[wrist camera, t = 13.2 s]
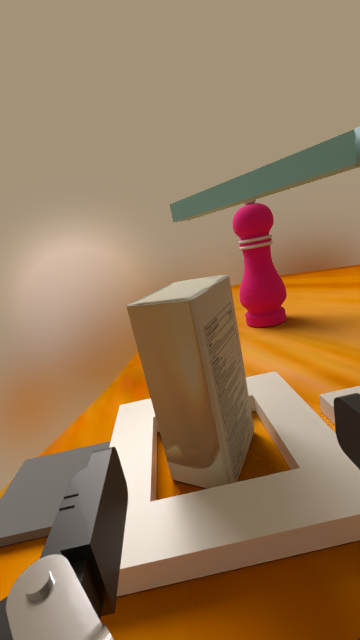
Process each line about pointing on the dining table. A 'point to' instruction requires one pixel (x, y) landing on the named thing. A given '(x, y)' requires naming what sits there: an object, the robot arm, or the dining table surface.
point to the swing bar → (275, 177)
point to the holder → (237, 496)
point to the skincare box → (196, 378)
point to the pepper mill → (259, 267)
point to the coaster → (39, 493)
